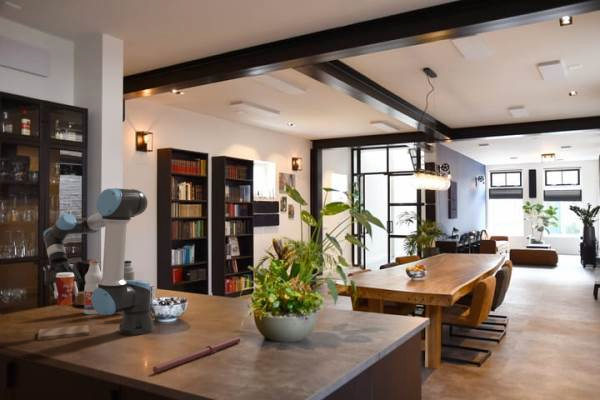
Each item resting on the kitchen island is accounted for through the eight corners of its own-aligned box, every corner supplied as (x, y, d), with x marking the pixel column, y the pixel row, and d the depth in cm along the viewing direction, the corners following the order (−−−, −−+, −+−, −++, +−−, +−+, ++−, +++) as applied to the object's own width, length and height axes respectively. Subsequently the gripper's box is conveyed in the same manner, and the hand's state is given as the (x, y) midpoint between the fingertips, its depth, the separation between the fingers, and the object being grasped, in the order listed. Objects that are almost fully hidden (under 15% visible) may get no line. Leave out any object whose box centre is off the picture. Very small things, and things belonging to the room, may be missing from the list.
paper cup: (66, 306, 208) (66, 274, 209) (50, 305, 210) (51, 274, 210) (77, 303, 216) (78, 272, 216) (62, 302, 218) (63, 271, 218)
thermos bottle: (125, 315, 251) (126, 262, 252) (114, 313, 255) (115, 261, 255) (137, 312, 258) (137, 260, 259) (126, 311, 262) (127, 259, 262)
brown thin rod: (235, 342, 200) (235, 335, 200) (241, 343, 199) (241, 336, 199) (151, 373, 162) (151, 364, 162) (157, 375, 160) (158, 366, 160)
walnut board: (88, 328, 224) (88, 324, 224) (89, 335, 211) (89, 331, 211) (39, 332, 215) (39, 329, 215) (37, 340, 202) (37, 336, 202)
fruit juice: (107, 311, 260) (107, 260, 261) (94, 315, 251) (94, 261, 252) (93, 310, 263) (93, 259, 264) (80, 313, 254) (80, 261, 255)
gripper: (78, 259, 232) (89, 297, 219) (31, 262, 218) (39, 303, 206) (82, 249, 228) (93, 287, 215) (34, 251, 214) (42, 292, 202)
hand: (66, 295), depth 211 cm, fingers closed on paper cup, 8 cm apart
